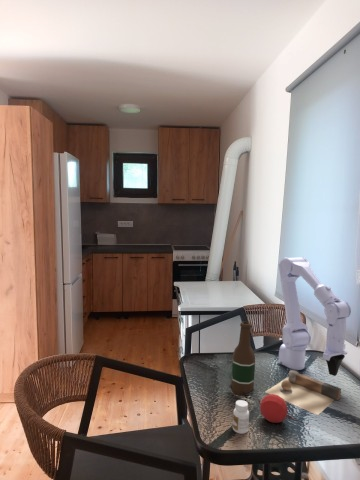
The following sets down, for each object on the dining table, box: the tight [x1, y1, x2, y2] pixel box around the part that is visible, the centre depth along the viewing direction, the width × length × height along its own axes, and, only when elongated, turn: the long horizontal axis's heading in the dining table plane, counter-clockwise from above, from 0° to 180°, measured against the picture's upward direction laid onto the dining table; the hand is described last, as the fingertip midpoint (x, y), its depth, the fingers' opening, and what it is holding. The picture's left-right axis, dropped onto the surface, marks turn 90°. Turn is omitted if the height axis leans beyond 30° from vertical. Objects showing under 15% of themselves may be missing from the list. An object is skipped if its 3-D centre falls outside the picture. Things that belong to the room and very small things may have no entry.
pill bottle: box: [232, 399, 250, 435], centre depth 100 cm, size 4×4×8 cm
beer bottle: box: [230, 321, 256, 397], centre depth 120 cm, size 8×8×24 cm
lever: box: [288, 369, 342, 401], centre depth 121 cm, size 18×3×3 cm, turn 45°
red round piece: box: [259, 393, 289, 424], centre depth 105 cm, size 8×8×8 cm
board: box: [264, 376, 336, 416], centre depth 118 cm, size 18×17×5 cm
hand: (332, 374), depth 123 cm, fingers closed
